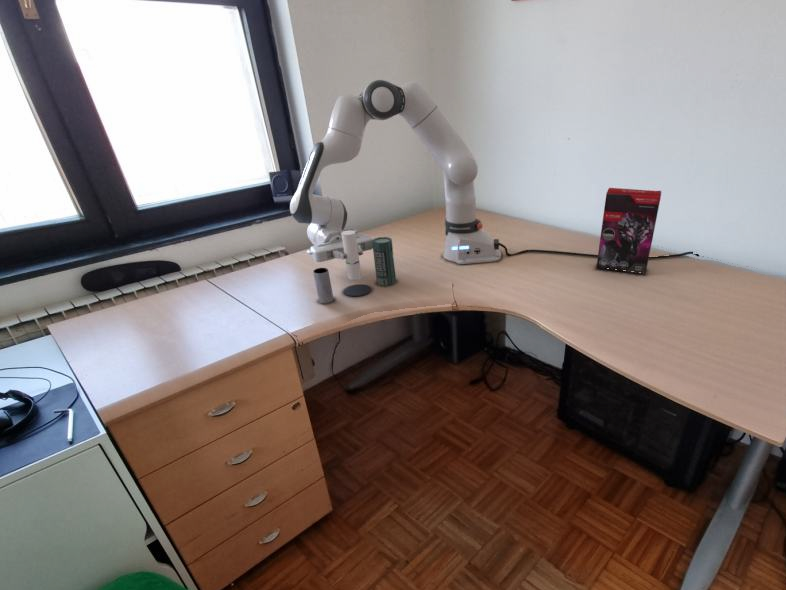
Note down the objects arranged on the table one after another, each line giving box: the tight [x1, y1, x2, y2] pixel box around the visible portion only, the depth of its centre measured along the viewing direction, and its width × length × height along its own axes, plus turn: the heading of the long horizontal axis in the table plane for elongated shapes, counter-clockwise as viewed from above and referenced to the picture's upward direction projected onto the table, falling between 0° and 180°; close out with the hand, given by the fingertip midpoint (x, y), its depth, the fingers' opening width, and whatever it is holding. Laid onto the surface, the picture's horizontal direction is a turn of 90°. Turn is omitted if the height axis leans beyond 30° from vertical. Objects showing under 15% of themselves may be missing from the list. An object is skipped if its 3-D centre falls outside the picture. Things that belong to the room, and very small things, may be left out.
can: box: [372, 236, 397, 287], centre depth 153 cm, size 6×6×15 cm
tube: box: [341, 229, 362, 281], centre depth 145 cm, size 4×4×15 cm
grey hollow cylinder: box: [312, 267, 334, 304], centre depth 143 cm, size 4×4×10 cm
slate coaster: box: [343, 283, 372, 298], centre depth 151 cm, size 9×9×1 cm
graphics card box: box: [596, 187, 662, 275], centre depth 155 cm, size 17×7×27 cm, turn 68°
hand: (352, 254), depth 144 cm, fingers closed on tube, 4 cm apart
